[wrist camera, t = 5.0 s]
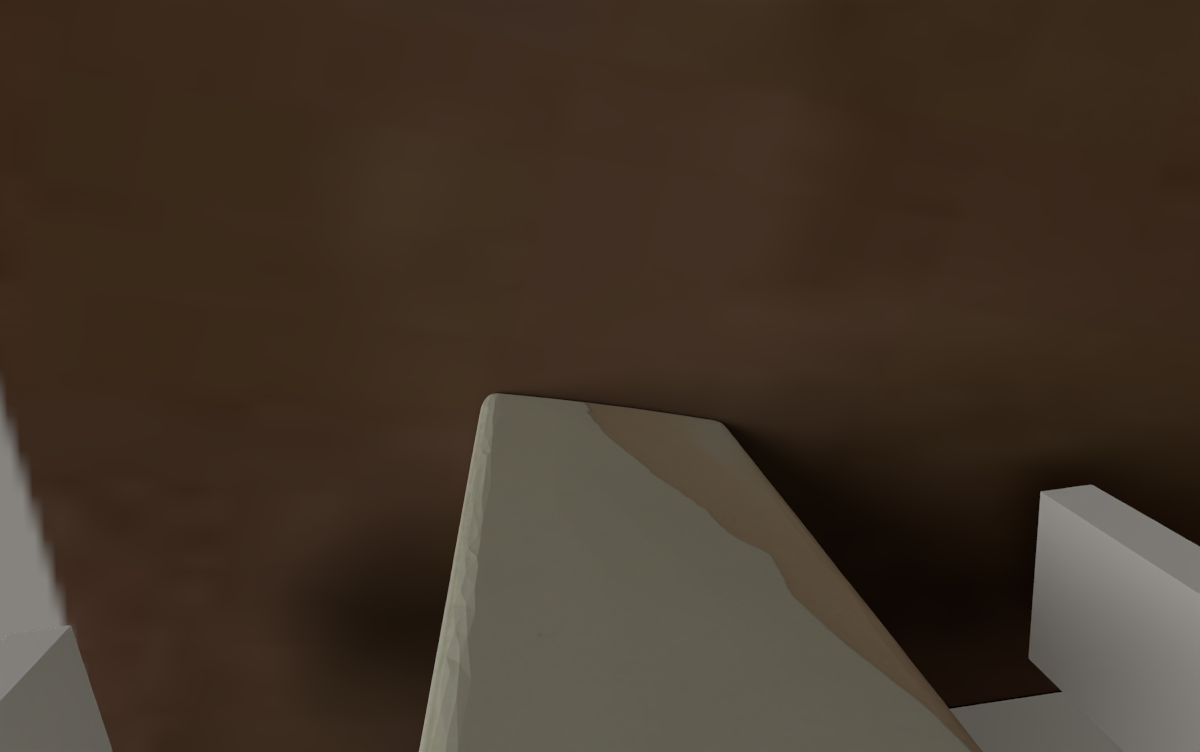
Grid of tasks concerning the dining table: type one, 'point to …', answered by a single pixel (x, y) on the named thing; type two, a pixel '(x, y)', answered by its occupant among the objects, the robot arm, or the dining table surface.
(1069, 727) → the socket board
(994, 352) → the dining table surface
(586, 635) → the box
